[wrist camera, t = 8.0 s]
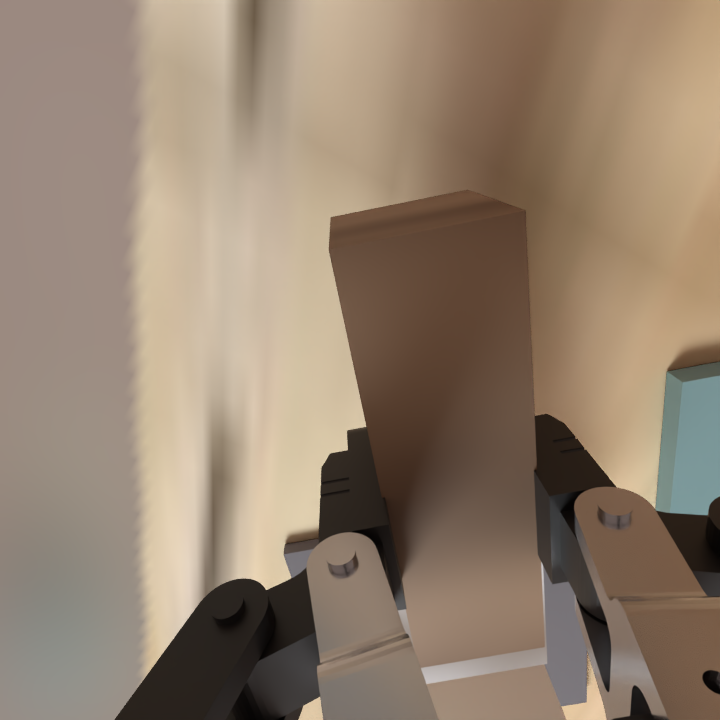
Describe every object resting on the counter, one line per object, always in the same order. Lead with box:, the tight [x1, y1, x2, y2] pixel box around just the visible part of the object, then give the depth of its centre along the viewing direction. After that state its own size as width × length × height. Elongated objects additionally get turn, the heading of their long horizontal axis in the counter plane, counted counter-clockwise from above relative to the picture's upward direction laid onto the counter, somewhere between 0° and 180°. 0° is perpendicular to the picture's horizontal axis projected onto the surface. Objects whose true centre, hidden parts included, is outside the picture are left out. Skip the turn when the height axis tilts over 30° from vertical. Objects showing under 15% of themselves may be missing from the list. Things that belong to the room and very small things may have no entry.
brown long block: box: [329, 190, 547, 684], centre depth 12 cm, size 15×5×4 cm, turn 11°
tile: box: [427, 664, 566, 720], centre depth 20 cm, size 2×6×9 cm, turn 101°
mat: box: [284, 539, 587, 706], centre depth 25 cm, size 15×14×1 cm
